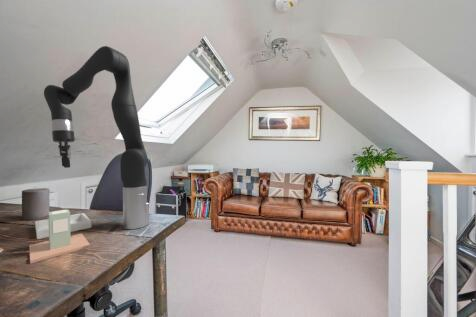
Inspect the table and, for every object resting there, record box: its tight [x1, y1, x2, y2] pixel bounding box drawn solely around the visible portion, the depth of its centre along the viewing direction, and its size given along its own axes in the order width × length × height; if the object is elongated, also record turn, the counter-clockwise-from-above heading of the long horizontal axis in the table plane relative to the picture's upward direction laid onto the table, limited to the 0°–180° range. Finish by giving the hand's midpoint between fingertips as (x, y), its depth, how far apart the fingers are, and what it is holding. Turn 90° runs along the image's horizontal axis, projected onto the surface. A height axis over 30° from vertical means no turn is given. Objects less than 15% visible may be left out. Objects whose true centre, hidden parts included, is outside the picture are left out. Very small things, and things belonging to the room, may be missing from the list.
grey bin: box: [34, 212, 92, 240], centre depth 83 cm, size 16×16×4 cm
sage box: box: [47, 209, 72, 250], centre depth 67 cm, size 5×5×11 cm
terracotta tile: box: [28, 232, 91, 264], centre depth 67 cm, size 14×14×1 cm
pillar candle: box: [21, 186, 50, 222], centre depth 99 cm, size 10×10×15 cm
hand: (66, 166), depth 90 cm, fingers open, 8 cm apart
